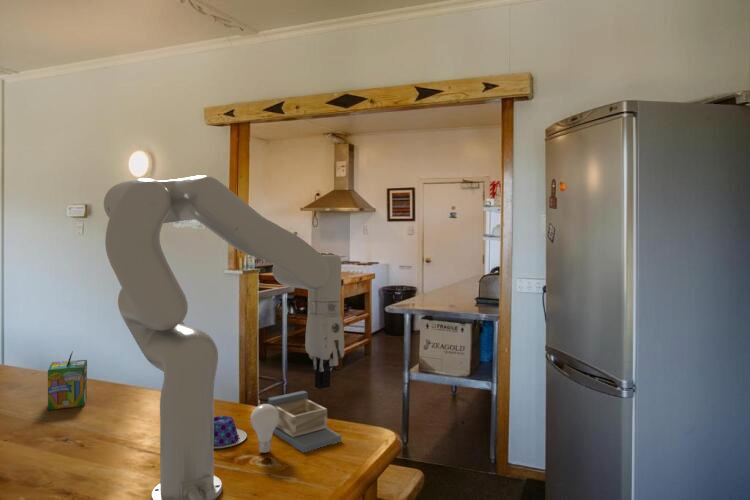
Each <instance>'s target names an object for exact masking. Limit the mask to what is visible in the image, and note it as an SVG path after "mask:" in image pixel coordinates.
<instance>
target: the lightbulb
mask: <svg viewBox="0 0 750 500" xmlns="http://www.w3.org/2000/svg"><path fill="white" fill-rule="evenodd" d="M278 422H279V413H278V411H277V409H276V408H275V407H274V406H272V405H270V404H268V403H262V404H259V405H258V406H256V407H255V408H253V411H252V412H251V415H250V425H251V427H252V428H253V431H255V433H256V436H257V441H258V452H259V453H262V454H268V453H269V452H270V451H271V450H272V438H273V435H274V433H273V431H274V430H275V428H276V427H277V425H278Z"/></svg>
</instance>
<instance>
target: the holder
mask: <svg viewBox="0 0 750 500" xmlns="http://www.w3.org/2000/svg"><path fill="white" fill-rule="evenodd" d="M274 407H275V408H276V409H277V411H278V413H279V422H278V425H277V427H278V428H279V429H281V430H282V431H284V432H286V433H287V434H289V435H290V436H292V437H295V436H299V435H302V434H306V433H310V432H313V431H317V430H321V429H324V428H328V408H326V407H324V406H322V405H320V404H318V403H316V402H314V401H312V400H311V399H302V400H297V401H293V402H288V403H284V404H279V405H275V406H274Z"/></svg>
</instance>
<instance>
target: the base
mask: <svg viewBox="0 0 750 500" xmlns="http://www.w3.org/2000/svg"><path fill="white" fill-rule="evenodd" d="M308 393H309V392H308V391H306V390H299V391H296V392H291V393H285V394H282V395H276V396H272V397H268V398H267V404H270V405H272V406H275V405H279V404H284V403H288V402H293V401H297V400H302V399H308ZM308 400H309V399H308ZM273 435H275V436H277V437H278V438H280V439H282V440H283V441H285V442H286V443H287V444H289V445H290V446H292V447H294V448H295V449H297V450H298V451H299V452H301V453H302V452H303V453H302V454H305V453H309V452H311V450H312V451H315V450H318V449H317V448H319V449H321V448H320V447H322V448H324V447H323V446H325V447H327V446H326V445H329V444H332V445H334V444H333V443H335V442H339V441H341V442H342V435H341V434H340V433H337V432H335V431H334V430H332V429H330V428H328V427H327V428H324V429H321V430H317V431H313V432H310V433H306V434H302V435H299V436H295V437H292V436H290V435H289V434H287V433H286V432H284V431H282V430H281V429H279V428H278V427H276V428H275V430H274V431H273ZM339 443H340V442H339ZM335 444H336V443H335ZM329 446H330V445H329ZM314 449H315V450H314ZM308 451H309V452H308ZM304 452H305V453H304Z"/></svg>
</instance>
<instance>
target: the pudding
mask: <svg viewBox="0 0 750 500" xmlns="http://www.w3.org/2000/svg"><path fill="white" fill-rule="evenodd" d="M238 435H239V436H238ZM247 437H248V435H247V433H246V431H244V430H242V429H238V428H237V426H236V422H235V419H234V418H233V417H232V416H230V415H229V416H228V415H218V416H214V449H223V448H228V447H232V446H236V445H238V444H241V443H242V442H243V441H245V440H246V438H247ZM239 438H240V439H239ZM236 440H237V441H236ZM234 442H236V443H234ZM233 443H234V444H233Z"/></svg>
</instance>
